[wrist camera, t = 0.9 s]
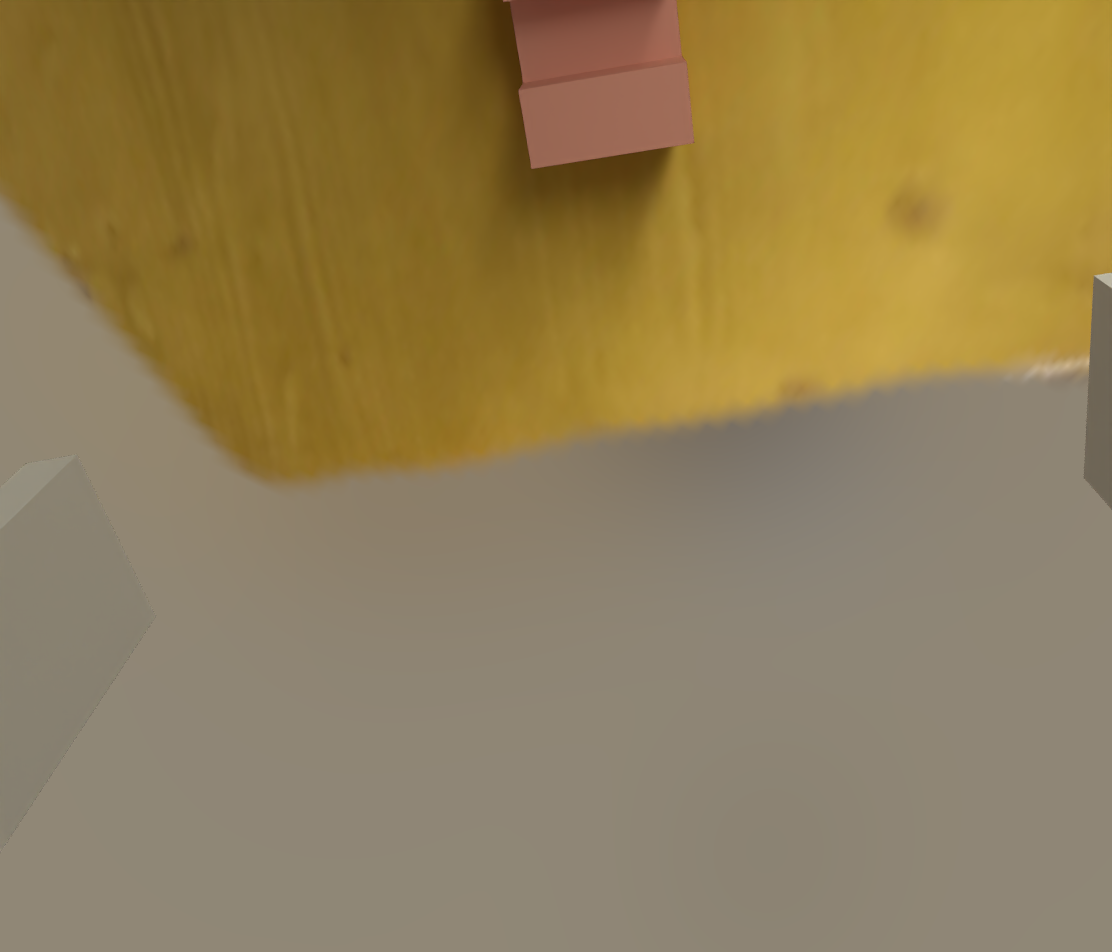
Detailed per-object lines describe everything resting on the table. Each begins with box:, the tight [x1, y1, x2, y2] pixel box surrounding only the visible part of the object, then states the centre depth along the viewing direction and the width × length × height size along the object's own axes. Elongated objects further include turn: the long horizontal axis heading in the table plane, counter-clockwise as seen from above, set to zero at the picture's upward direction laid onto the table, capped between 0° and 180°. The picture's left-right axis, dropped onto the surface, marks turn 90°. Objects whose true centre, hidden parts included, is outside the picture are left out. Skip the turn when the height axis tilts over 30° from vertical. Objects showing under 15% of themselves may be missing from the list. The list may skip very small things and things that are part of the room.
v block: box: [503, 0, 694, 169], centre depth 31 cm, size 7×5×5 cm
